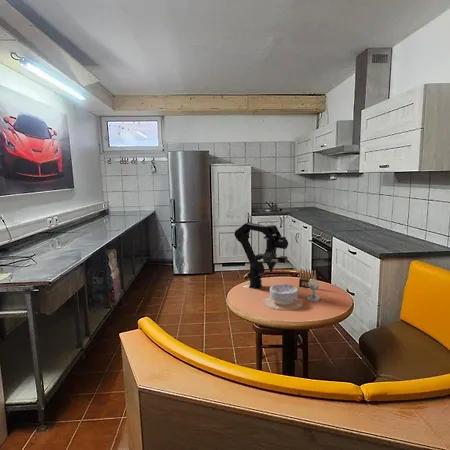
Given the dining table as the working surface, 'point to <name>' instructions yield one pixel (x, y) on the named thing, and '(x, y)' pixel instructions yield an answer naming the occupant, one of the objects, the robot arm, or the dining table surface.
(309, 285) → the dial gauge stand
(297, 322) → the dining table surface
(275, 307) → the centring plate
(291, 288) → the white floral bowl
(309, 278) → the ammunition clip
